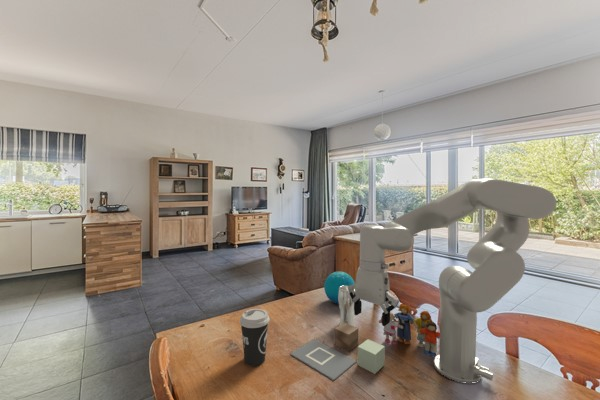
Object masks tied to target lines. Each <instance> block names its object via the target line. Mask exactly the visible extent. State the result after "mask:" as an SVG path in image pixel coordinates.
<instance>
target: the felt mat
mask: <svg viewBox="0 0 600 400" xmlns="http://www.w3.org/2000/svg"><path fill="white" fill-rule="evenodd" d="M289 355H290V356H292V357H294V358H296V359H297V360H299V361H300V362H302V363H303V364H306V365H307V366H309V367H310V368H312V369H313V370H315V371H317V372H319V373H320V374H322V375H323V376H324V377H325V376H326V377H327V378H329V379H330V380H332V381H335V380H337V379H339V377H341V376H342V375H343V374H344V373H345V372H346V371H348V370H349V369H350V368H352V367H353V365H355V364H356V363H358V360H357V359H354V358H352V357H350V356H348V355H346V354H344V353H343V352H340V351H338V350H337V349H334V348H332V347H329V346H328V345H326V344H324V343H322V342H320V341H318V340H316V339H312V340H310V341H308V342H306V343H305V344H303V345H301V346H300V347H299V348H297V349H295V350H293V351H292V352H290V354H289Z"/></svg>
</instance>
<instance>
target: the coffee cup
mask: <svg viewBox="0 0 600 400" xmlns="http://www.w3.org/2000/svg"><path fill="white" fill-rule="evenodd" d="M270 321H271V319H270V316H269V313H268V312H267V311H266V310H265V309H262V308H261V309H260V308H251V309H248V310H245V311H243V313H242V314H241V316H240V319H239V325H241V334H242V335H241V337H242V347H243V359H244V363H245V365H246V366H248V367H258V366H261V365H262V364H264V363H265V362H266V354H267V353H266V352H267V351H266V350H267V342H268V341H267V339H268V328H269V323H270Z"/></svg>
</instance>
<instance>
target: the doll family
mask: <svg viewBox="0 0 600 400" xmlns="http://www.w3.org/2000/svg"><path fill="white" fill-rule="evenodd" d="M397 309H398V310H397V311H399V312H396V313H393V312H392V311H390V322H389V323H388V324H387V325H386V326H383V336H385V339H384V343H386V344H392V345H393V346H397V345H398V342H399V343H404V345H410V344H411V341H412V333H411V332H412V331H411V325H413V326H414V327H415V329H416V333H417V338H416V340H417V341H418V344H417V346H418V347H421V348H423V347H424V350H423V353H424V354H426V355H431V357H432V356H434V357H433V358H435V356H436V355H437V351H438V347H437V345H438V339H439V340H440V331H437V330H438V326H437V324H436V323H435V322H434V321H433V320H432V316H431V313H429V311H427V310H421V312H420V313H419V315H420V316H419V317H417V318H416V319H415V318H414V317H413V316H412V315H411V314H410V313H409V311H410V309H411V305H410V304H403V303H402V304H401V303H400V305H398V306H397ZM397 319H398V320H397ZM378 323H379V324H382V316H381V317H380V319H379V320H378ZM390 338H392V339H390ZM397 338H398V339H397ZM396 339H397V340H396Z"/></svg>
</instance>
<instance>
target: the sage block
mask: <svg viewBox="0 0 600 400" xmlns="http://www.w3.org/2000/svg"><path fill="white" fill-rule="evenodd" d="M385 350H386V347H385V345H383V344H380V343H378V342H376V341H373V340H371V339H369V338H368V339H366V340H364V342H362V343H361V344H358V345H357V366H359V367H360V368H362V369H365V370H366V371H369V372H370V373H373V374H376V373H378V372H379V371H380V369H382V368H383V367H384V366H385V359H386V358H385V356H386V355H385V354H386V353H385V352H386V351H385Z"/></svg>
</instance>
